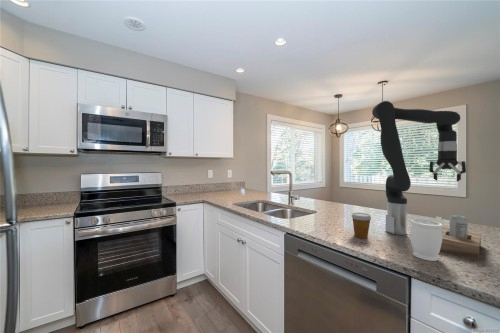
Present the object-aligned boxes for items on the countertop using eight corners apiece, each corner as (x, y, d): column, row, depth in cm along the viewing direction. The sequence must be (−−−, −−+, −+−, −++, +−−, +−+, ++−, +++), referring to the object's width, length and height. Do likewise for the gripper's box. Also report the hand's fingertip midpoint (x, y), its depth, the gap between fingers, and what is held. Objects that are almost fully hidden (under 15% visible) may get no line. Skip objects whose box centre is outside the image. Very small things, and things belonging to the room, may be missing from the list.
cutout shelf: (478, 260, 87) (479, 246, 87) (433, 250, 98) (434, 237, 98) (480, 245, 103) (480, 233, 103) (441, 238, 114) (442, 226, 113)
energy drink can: (460, 246, 103) (461, 215, 102) (470, 251, 97) (471, 218, 97) (446, 244, 104) (446, 214, 104) (454, 249, 98) (455, 217, 98)
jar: (403, 252, 95) (404, 218, 95) (425, 251, 96) (425, 218, 96) (425, 263, 85) (426, 225, 84) (449, 262, 85) (449, 225, 85)
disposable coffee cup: (370, 235, 118) (370, 213, 117) (371, 240, 109) (372, 217, 109) (351, 232, 122) (351, 211, 121) (351, 237, 113) (351, 215, 113)
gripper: (467, 150, 110) (466, 181, 111) (431, 151, 121) (430, 179, 121) (465, 149, 105) (464, 182, 106) (428, 150, 116) (428, 180, 117)
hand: (446, 180), depth 114 cm, fingers open, 8 cm apart
